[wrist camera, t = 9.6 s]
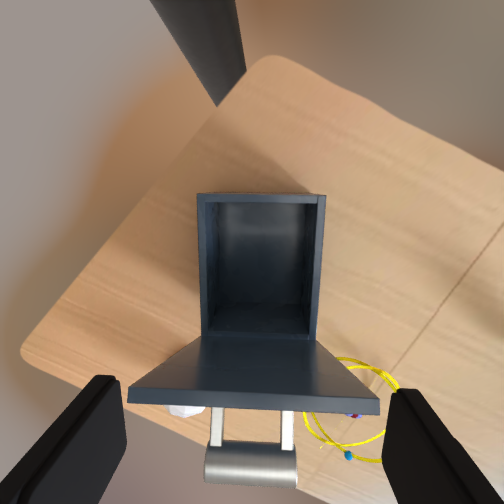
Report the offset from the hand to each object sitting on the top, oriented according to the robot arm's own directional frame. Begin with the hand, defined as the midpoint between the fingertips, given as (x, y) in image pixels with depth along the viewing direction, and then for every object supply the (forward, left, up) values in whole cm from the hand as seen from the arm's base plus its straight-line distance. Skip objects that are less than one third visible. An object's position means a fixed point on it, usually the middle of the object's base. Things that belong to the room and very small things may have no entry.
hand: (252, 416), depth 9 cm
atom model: (+23, +7, -29) cm, 37 cm away
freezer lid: (+5, -2, -12) cm, 13 cm away
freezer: (+1, 0, -28) cm, 28 cm away
